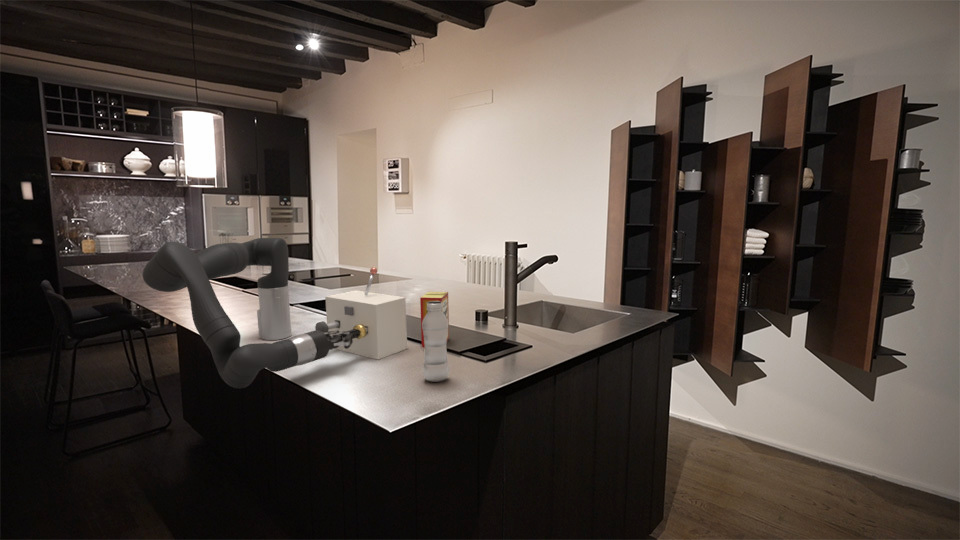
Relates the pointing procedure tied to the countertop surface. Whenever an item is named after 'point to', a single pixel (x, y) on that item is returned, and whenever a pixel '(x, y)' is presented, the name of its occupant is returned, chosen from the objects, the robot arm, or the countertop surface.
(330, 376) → the countertop surface
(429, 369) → the plastic bottle
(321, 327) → the black plunger
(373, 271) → the toggle lever
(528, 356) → the countertop surface
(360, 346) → the console
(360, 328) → the brass plunger
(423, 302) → the baking soda box
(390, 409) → the countertop surface
